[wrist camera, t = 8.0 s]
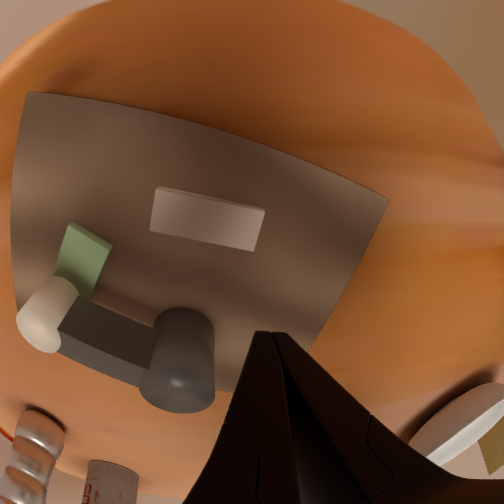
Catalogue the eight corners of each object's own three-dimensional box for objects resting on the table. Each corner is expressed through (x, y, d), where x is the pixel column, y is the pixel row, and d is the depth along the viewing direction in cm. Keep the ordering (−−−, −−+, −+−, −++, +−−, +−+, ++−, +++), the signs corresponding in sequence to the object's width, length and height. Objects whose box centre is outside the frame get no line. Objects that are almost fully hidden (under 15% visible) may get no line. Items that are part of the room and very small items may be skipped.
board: (272, 379, 22) (277, 404, 19) (32, 313, 17) (17, 334, 15) (372, 190, 16) (395, 202, 13) (46, 92, 11) (21, 91, 9)
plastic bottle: (43, 430, 25) (15, 545, 7) (15, 399, 22) (-27, 525, 4) (77, 436, 25) (54, 566, 7) (48, 405, 22) (10, 551, 4)
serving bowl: (386, 460, 37) (398, 489, 31) (398, 412, 28) (418, 454, 22) (476, 410, 36) (491, 433, 30) (510, 342, 27) (534, 370, 21)
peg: (225, 321, 16) (227, 383, 12) (200, 360, 17) (198, 419, 13) (57, 248, 13) (14, 292, 9) (50, 296, 14) (16, 344, 10)
